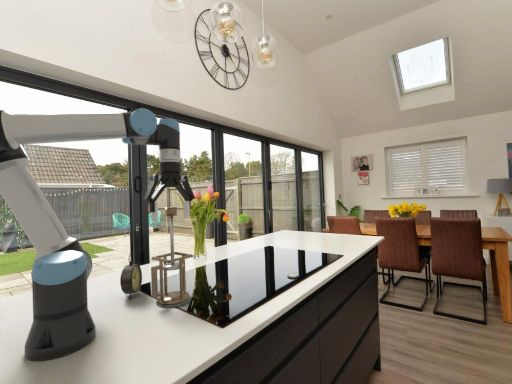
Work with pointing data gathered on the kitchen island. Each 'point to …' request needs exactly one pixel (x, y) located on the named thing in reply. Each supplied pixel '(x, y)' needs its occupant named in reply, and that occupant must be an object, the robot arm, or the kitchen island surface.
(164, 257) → the press frame
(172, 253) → the plunger
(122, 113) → the robot arm
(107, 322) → the kitchen island surface
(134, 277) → the alarm clock
